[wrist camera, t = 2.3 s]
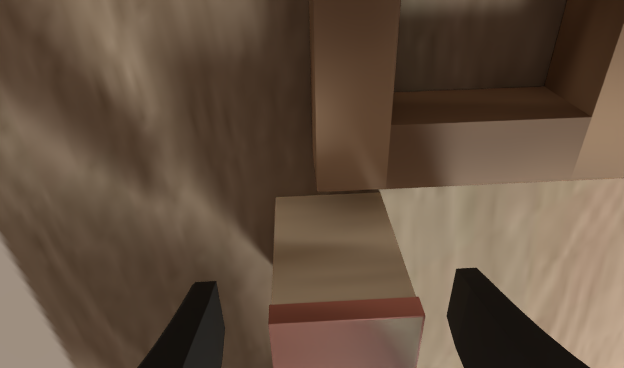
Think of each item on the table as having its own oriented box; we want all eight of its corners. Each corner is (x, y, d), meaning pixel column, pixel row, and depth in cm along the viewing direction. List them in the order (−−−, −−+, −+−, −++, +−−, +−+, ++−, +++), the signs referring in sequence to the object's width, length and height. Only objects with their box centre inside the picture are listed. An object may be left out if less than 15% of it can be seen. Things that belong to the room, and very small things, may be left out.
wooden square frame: (586, 140, 14) (636, 177, 12) (312, 152, 14) (317, 192, 12) (713, -231, 9) (831, -273, 7) (303, -225, 9) (308, -267, 7)
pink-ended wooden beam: (375, 270, 17) (409, 406, 12) (280, 275, 17) (278, 414, 12) (381, 190, 15) (425, 315, 10) (274, 195, 15) (268, 324, 10)
